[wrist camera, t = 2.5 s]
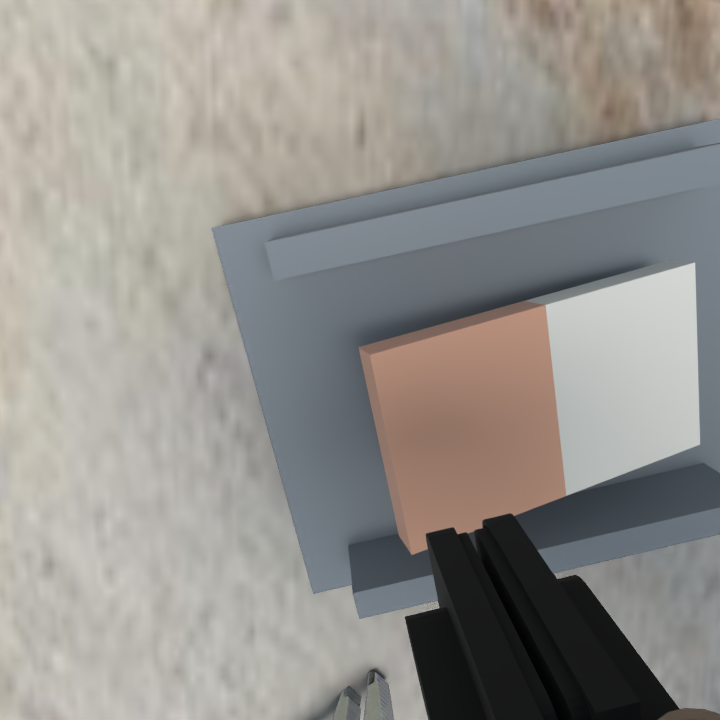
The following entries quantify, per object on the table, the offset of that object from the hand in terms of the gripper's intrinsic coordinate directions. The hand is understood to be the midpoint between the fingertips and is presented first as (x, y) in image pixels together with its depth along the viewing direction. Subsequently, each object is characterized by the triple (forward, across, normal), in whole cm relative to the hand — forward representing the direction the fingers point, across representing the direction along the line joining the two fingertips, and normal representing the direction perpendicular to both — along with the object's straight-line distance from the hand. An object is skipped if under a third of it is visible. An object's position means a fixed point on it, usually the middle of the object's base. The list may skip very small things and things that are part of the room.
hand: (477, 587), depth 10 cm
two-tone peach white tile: (+9, -5, 0) cm, 10 cm away
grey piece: (+13, -5, +1) cm, 14 cm away
